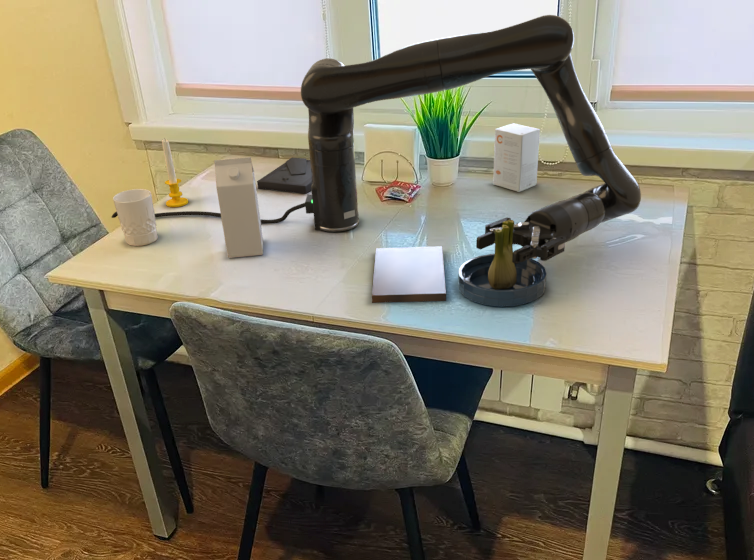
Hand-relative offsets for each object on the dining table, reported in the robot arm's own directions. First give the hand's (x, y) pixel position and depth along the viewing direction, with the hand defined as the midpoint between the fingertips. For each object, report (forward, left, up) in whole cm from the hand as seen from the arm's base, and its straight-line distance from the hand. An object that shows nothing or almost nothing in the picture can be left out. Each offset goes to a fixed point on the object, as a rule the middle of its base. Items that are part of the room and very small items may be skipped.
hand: (495, 250), depth 135 cm
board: (-15, +7, -8) cm, 18 cm away
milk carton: (-49, +21, -8) cm, 54 cm away
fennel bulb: (+1, +1, -8) cm, 8 cm away
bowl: (+1, +1, -8) cm, 8 cm away
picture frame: (-43, +63, -8) cm, 77 cm away
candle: (-70, +49, -8) cm, 86 cm away
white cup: (-73, +28, -8) cm, 78 cm away
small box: (+9, +53, -8) cm, 55 cm away
